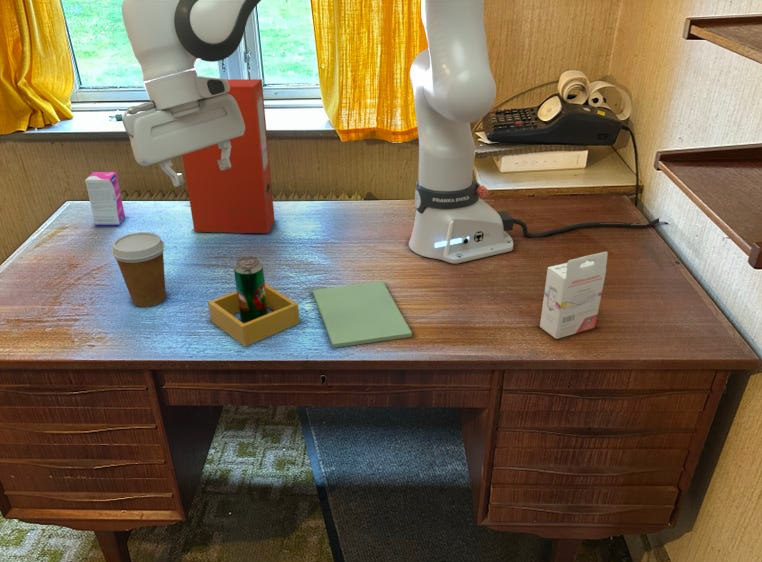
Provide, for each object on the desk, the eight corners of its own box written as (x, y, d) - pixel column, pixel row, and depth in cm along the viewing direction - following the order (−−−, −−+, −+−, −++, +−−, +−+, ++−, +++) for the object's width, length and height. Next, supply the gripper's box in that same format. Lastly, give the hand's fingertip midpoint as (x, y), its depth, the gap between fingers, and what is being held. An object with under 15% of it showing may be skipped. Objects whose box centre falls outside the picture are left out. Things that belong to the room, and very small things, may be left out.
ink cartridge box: (577, 315, 122) (591, 240, 113) (595, 328, 118) (611, 251, 110) (537, 326, 119) (549, 249, 111) (555, 340, 115) (568, 261, 107)
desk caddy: (264, 300, 129) (262, 281, 127) (299, 323, 122) (298, 304, 119) (210, 321, 123) (207, 301, 121) (245, 346, 116) (242, 327, 113)
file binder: (204, 219, 163) (183, 78, 145) (274, 220, 161) (261, 78, 143) (194, 232, 156) (170, 87, 138) (267, 234, 155) (252, 87, 137)
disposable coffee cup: (161, 313, 126) (149, 254, 119) (114, 309, 128) (100, 250, 121) (182, 289, 134) (171, 232, 127) (137, 285, 135) (125, 229, 128)
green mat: (382, 284, 133) (382, 280, 133) (412, 336, 117) (412, 332, 117) (312, 293, 131) (312, 289, 130) (332, 348, 115) (332, 344, 114)
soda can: (237, 318, 124) (229, 259, 117) (264, 312, 125) (257, 253, 118) (245, 332, 120) (237, 271, 113) (272, 325, 121) (266, 265, 115)
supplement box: (119, 226, 160) (108, 179, 154) (94, 227, 161) (83, 180, 154) (126, 217, 165) (116, 171, 159) (102, 217, 165) (91, 171, 159)
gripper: (125, 108, 105) (157, 195, 110) (235, 78, 115) (259, 159, 120) (111, 112, 109) (142, 195, 115) (218, 83, 120) (242, 161, 125)
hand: (203, 177), depth 118 cm, fingers open, 8 cm apart
